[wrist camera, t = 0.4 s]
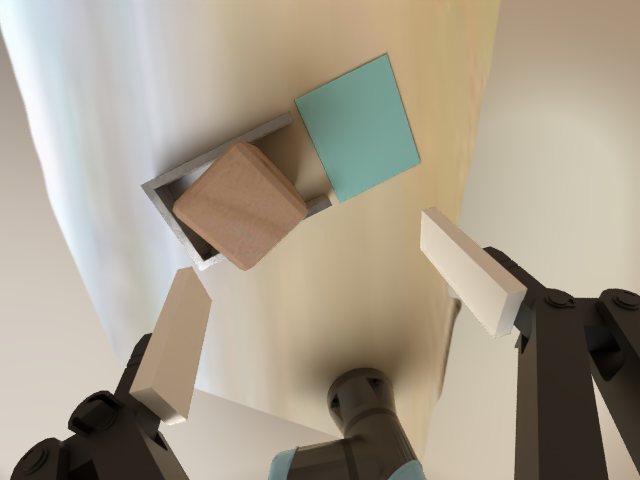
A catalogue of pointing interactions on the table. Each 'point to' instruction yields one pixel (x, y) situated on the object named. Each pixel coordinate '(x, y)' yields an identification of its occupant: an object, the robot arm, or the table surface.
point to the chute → (161, 192)
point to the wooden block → (242, 205)
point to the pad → (359, 128)
